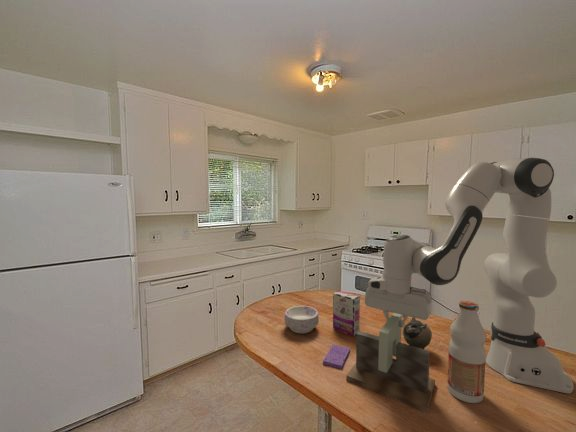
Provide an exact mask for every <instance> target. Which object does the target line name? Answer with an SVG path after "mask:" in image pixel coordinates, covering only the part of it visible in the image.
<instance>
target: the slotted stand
mask: <svg viewBox="0 0 576 432" xmlns="http://www.w3.org/2000/svg"><path fill="white" fill-rule="evenodd" d="M355 336H356V341H355V342H356V343H355V345H356V348H355V349H356V350H355V351H356V352H355V359H356V360H355V363H354V365H353V366H352V368H350V370H349V371H348V372H347V374H345V375H346V377H345V378H346V381H349V382H351V383H354V384H355V385H358V386H361V387H363V388H366V389H368V390H370V391H374V392H376V393H378V394H380V395H383V396H386V397H387V398H391V399H393V400H396V401H397V402H400V403H403V404H405V405H407V406H411V407H412V408H416V409H418V410H420V411H422V412H425V413H427V412H428V410H429V406H430V404H431V399H432V396H433V393H434V389H435V386H436V379H434V378H430V350H427V349H425V348H424V349H425V350H424V349H421V348H417V347H414V346H410V345H409V344H408V343H407V344H406V343H402V342H401V343H400V342H398V344H397V345H396V357H395V358H393V362H392V365H391V366H390V368H389V370H388V372H387V373H386V372H383V371H380V370H378V361H379V335H375V334H372V333H369V332H365V331H362V330H359V332H358V333H357V334H356V335H355Z"/></svg>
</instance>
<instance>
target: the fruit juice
mask: <svg viewBox="0 0 576 432" xmlns="http://www.w3.org/2000/svg"><path fill="white" fill-rule="evenodd" d="M458 304H459V305H458V308H459V312H458V315H457V316H456V319H455V320H454V321H453V322H451V324H450V327H449V332H450V333H449V334H450V337H451V339H450V341H449V344H448V357H447V358H448V360H447V361H448V362H447V379H446V381H447V382H446V383H447V390H448V391H449V393H450V394H451V395H452V396H453V397H455V398H456V399H457V400H460V401H462V402H464V403H467V404H478V403H481V402H482V401H483V400H484V396H485V378H486V357H487V355H486V349H485V347H484V346H485V343H486V340H487V333H486V331H485V330H486V329H484V327H483V326H482V324H481V321H480V318H479V314H478V312H479V309H480V308H479V304H478V303H476V302H475V301H474V302H473V301H470V300H469V301H468V300H461V301H459V303H458Z"/></svg>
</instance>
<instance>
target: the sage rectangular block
mask: <svg viewBox="0 0 576 432" xmlns="http://www.w3.org/2000/svg"><path fill="white" fill-rule="evenodd" d="M402 316H403V315H401V314H397V313H393V312H392V314H391V315H390V319H389V320H388V321H387V322H386V321H385V323H384V325H383V326H382V327H381V328H380V330H379V331H378V336H379V361H378V370H380V371H383V372H386V373H387V372H388V370H389V368H390V366H391V365H392V362H393V359H394V357H395V358H396V345H397V344H398V342H400V343H402V327H399V321H400V320H403V319H402V318H403V317H402Z"/></svg>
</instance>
